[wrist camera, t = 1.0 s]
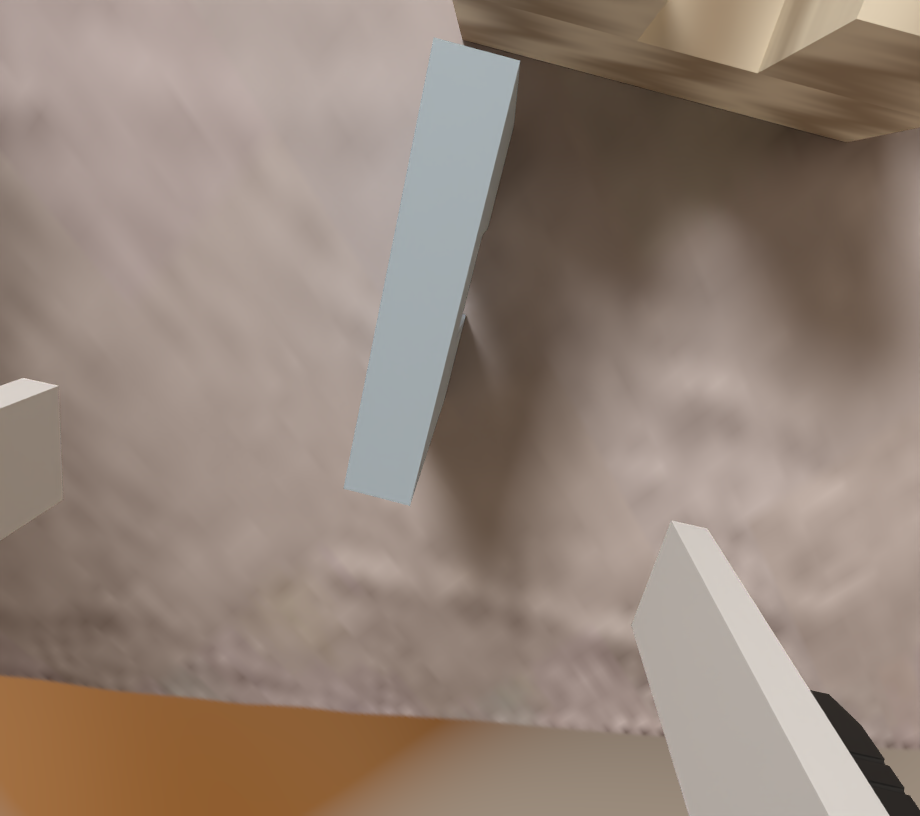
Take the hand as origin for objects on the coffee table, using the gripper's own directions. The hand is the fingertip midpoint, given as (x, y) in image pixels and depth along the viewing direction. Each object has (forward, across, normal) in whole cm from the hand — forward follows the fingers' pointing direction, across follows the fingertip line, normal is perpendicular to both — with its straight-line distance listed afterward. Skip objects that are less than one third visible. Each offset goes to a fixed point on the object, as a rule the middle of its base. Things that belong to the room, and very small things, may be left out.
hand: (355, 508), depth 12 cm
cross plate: (+19, 0, +3) cm, 19 cm away
